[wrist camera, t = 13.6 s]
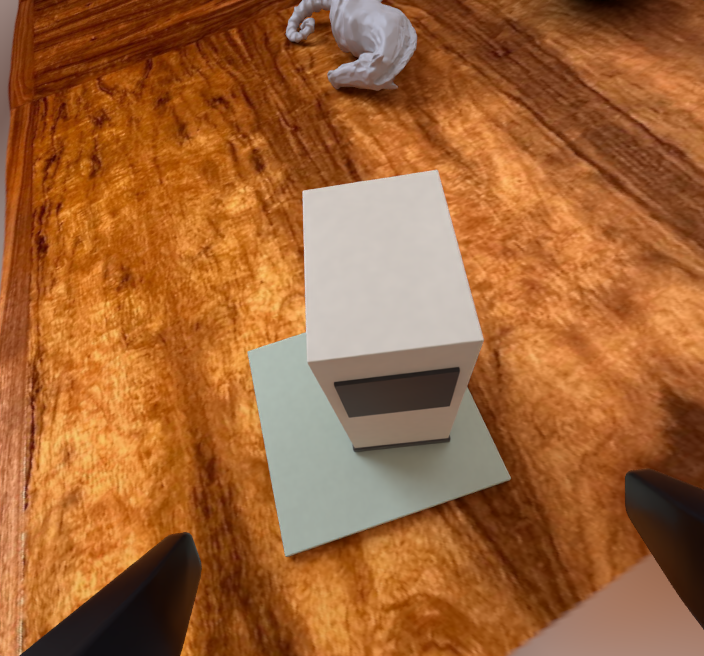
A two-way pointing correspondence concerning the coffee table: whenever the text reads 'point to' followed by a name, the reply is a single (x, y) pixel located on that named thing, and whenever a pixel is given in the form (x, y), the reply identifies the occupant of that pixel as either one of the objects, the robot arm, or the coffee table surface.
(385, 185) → the white tilted block
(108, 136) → the coffee table surface
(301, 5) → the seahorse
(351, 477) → the mat
